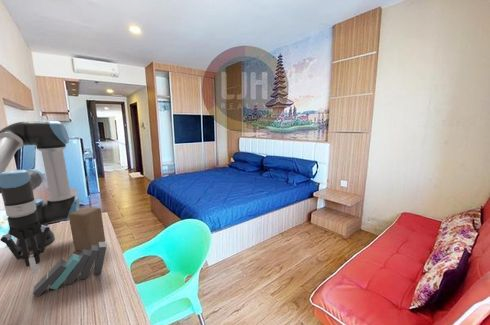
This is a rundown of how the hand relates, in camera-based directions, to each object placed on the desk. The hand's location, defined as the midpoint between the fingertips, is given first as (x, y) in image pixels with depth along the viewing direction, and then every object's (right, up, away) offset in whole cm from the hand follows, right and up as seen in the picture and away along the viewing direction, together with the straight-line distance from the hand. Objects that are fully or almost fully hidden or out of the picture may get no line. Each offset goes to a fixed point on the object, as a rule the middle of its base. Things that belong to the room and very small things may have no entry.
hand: (35, 271), depth 82 cm
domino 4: (+11, -7, +10) cm, 16 cm away
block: (-2, -3, +32) cm, 33 cm away
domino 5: (+15, -6, +13) cm, 20 cm away
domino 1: (-1, -8, +1) cm, 8 cm away
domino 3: (+7, -7, +7) cm, 12 cm away
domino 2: (+3, -7, +4) cm, 9 cm away
